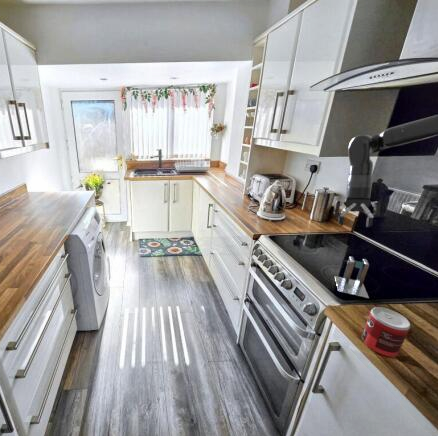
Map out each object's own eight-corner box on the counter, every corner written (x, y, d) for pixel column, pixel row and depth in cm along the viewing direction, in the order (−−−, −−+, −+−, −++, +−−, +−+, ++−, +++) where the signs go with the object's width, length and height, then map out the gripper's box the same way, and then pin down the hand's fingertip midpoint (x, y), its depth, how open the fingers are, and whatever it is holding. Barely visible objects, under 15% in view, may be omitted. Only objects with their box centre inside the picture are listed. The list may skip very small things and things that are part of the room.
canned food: (371, 332, 74) (382, 304, 70) (403, 353, 67) (418, 323, 63) (353, 339, 72) (364, 310, 68) (385, 362, 65) (399, 331, 61)
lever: (341, 264, 100) (342, 258, 100) (357, 267, 98) (358, 261, 98) (349, 266, 90) (350, 260, 90) (367, 269, 87) (368, 263, 87)
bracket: (333, 278, 100) (341, 251, 96) (361, 284, 96) (371, 256, 91) (337, 293, 91) (346, 264, 87) (368, 300, 87) (379, 270, 82)
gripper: (378, 186, 96) (373, 226, 98) (334, 186, 103) (330, 223, 105) (386, 186, 90) (380, 229, 92) (339, 186, 96) (334, 226, 98)
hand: (354, 226), depth 98 cm, fingers open, 8 cm apart
